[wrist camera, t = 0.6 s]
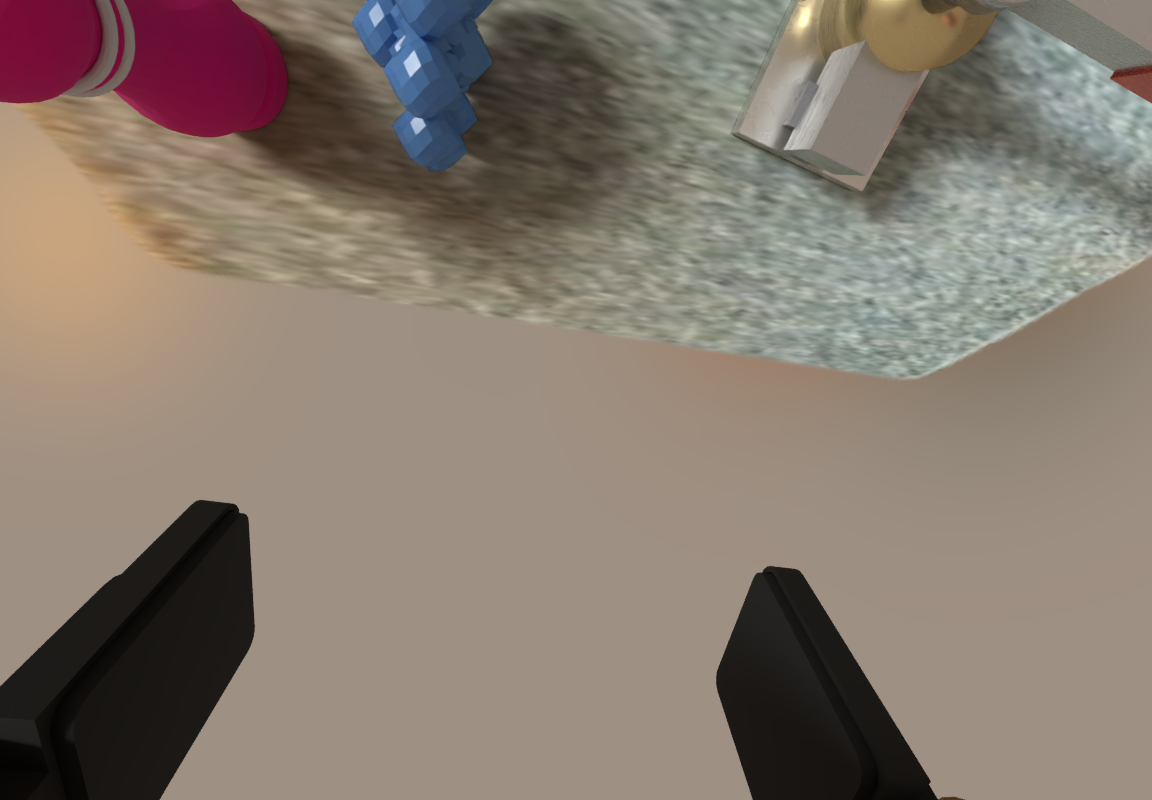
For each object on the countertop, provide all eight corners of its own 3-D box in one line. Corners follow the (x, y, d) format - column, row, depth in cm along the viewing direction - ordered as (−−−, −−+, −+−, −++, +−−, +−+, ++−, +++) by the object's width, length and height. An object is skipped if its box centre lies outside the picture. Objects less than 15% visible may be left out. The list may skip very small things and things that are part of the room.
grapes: (397, -80, 30) (311, -223, 19) (521, -40, 31) (509, -153, 20) (373, 152, 34) (292, 147, 23) (483, 180, 35) (456, 189, 24)
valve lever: (933, -4, 24) (981, -25, 21) (980, -92, 23) (1036, -125, 20) (1197, 148, 27) (1267, 147, 24) (1250, 77, 26) (1329, 68, 23)
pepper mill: (203, -39, 30) (-339, -360, 11) (321, 65, 32) (26, -64, 14) (141, 75, 32) (-410, -43, 13) (257, 166, 34) (-80, 173, 16)
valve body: (873, -182, 29) (1024, -337, 20) (1006, -96, 31) (1201, -204, 22) (730, 133, 35) (797, 123, 26) (850, 190, 36) (952, 199, 27)
